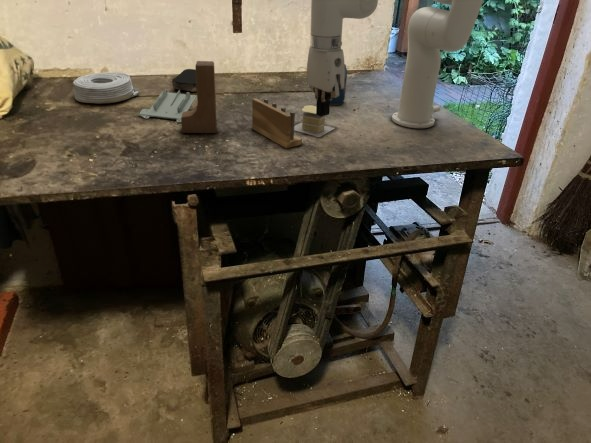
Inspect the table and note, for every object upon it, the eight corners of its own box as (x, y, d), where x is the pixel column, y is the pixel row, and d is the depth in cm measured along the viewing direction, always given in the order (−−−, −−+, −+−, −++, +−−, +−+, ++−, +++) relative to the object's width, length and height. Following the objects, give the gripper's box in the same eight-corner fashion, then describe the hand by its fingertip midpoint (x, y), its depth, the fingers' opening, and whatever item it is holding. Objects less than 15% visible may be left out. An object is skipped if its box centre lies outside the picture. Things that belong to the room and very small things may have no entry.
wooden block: (182, 133, 128) (176, 64, 119) (183, 127, 132) (178, 60, 123) (216, 133, 129) (213, 65, 120) (216, 127, 133) (214, 61, 124)
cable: (144, 93, 157) (142, 74, 153) (114, 109, 142) (111, 88, 139) (96, 86, 160) (93, 68, 157) (62, 102, 145) (58, 82, 142)
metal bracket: (155, 84, 145) (202, 89, 143) (160, 101, 149) (205, 106, 147) (135, 111, 136) (185, 117, 133) (140, 128, 140) (189, 134, 138)
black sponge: (186, 78, 173) (186, 68, 171) (209, 80, 172) (209, 70, 170) (171, 91, 159) (169, 80, 157) (195, 93, 158) (195, 82, 156)
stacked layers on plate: (335, 128, 137) (337, 109, 134) (319, 137, 130) (320, 117, 128) (305, 120, 141) (306, 102, 139) (288, 128, 135) (289, 109, 132)
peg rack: (267, 125, 136) (267, 96, 132) (301, 144, 126) (303, 113, 121) (252, 128, 134) (252, 98, 129) (286, 148, 123) (287, 116, 119)
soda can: (348, 104, 156) (352, 66, 150) (329, 106, 153) (332, 68, 147) (337, 98, 161) (340, 61, 155) (319, 100, 159) (321, 62, 152)
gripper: (358, 45, 113) (352, 120, 123) (318, 34, 123) (315, 104, 133) (334, 50, 109) (330, 126, 119) (294, 38, 119) (294, 109, 129)
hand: (322, 114), depth 126 cm, fingers closed
